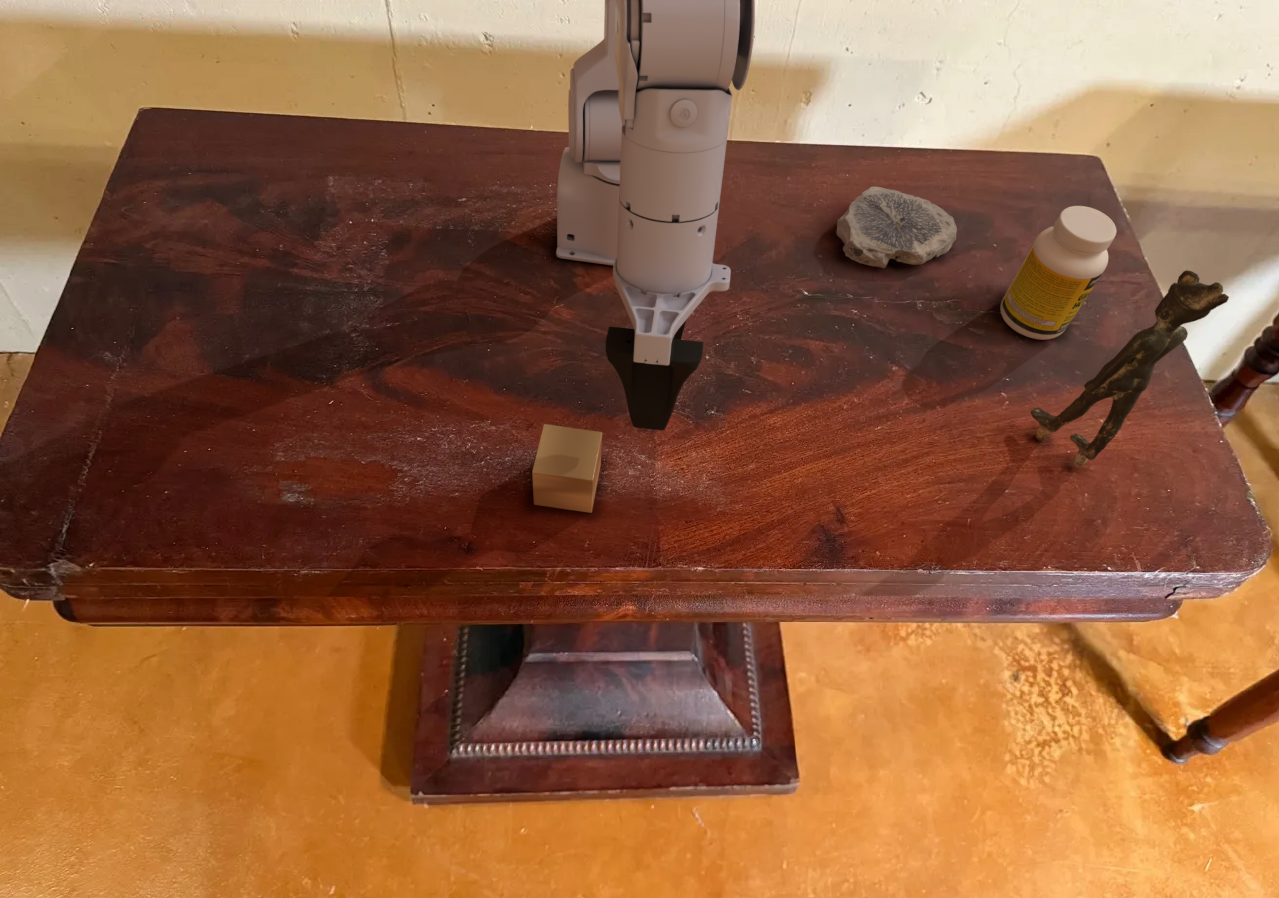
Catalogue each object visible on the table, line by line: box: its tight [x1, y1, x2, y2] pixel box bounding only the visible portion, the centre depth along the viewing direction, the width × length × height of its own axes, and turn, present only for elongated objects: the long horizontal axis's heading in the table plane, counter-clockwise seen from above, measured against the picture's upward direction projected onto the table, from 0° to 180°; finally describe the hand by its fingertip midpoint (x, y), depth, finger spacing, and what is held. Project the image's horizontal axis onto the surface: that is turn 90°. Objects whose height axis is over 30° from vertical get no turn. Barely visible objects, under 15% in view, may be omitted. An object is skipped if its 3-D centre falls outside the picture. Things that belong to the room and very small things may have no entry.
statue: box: [1030, 270, 1230, 468], centre depth 65 cm, size 5×6×20 cm
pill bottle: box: [999, 205, 1117, 341], centre depth 78 cm, size 6×6×11 cm
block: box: [531, 423, 603, 514], centre depth 66 cm, size 4×4×4 cm
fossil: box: [836, 185, 958, 269], centre depth 86 cm, size 11×4×10 cm
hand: (654, 388), depth 59 cm, fingers open, 7 cm apart
